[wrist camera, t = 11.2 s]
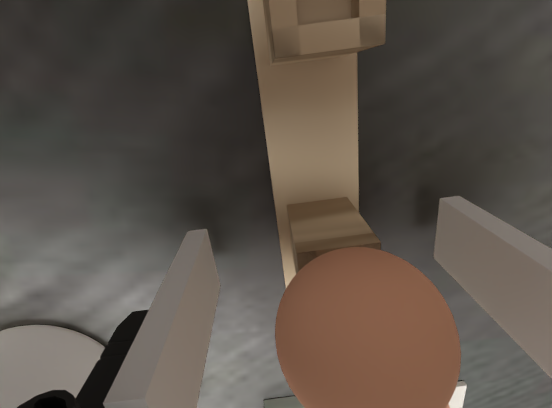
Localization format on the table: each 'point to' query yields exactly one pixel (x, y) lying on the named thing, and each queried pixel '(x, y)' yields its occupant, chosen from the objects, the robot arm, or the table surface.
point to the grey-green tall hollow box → (283, 403)
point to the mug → (43, 362)
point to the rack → (314, 119)
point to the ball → (366, 334)
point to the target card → (458, 396)
